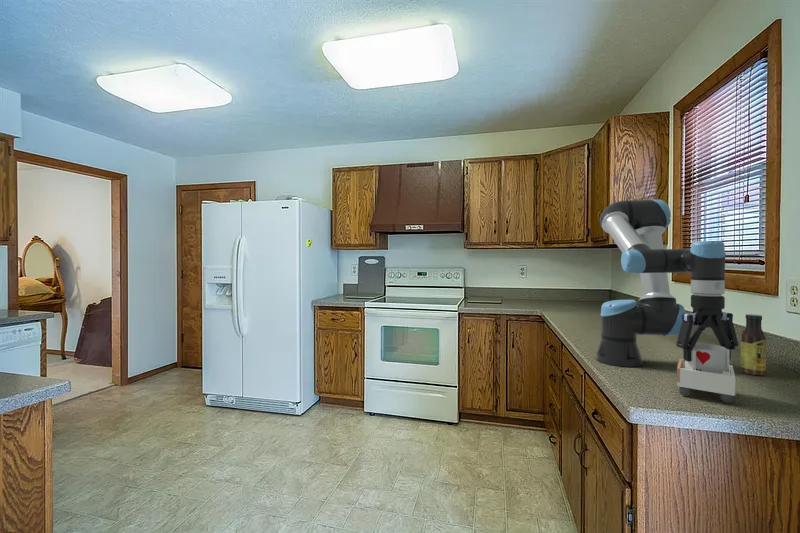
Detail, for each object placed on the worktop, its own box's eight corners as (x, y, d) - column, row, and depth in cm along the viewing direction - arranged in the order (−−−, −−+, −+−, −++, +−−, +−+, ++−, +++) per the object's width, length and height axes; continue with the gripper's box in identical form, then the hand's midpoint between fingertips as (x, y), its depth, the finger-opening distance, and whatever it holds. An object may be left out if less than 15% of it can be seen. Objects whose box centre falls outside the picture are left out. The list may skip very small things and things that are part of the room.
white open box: (676, 394, 106) (676, 368, 106) (679, 382, 115) (679, 358, 115) (735, 404, 98) (735, 376, 98) (732, 391, 108) (732, 365, 107)
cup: (682, 376, 110) (682, 343, 110) (707, 375, 111) (707, 342, 110) (706, 386, 102) (707, 351, 102) (734, 384, 103) (734, 349, 102)
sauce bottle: (761, 377, 120) (761, 317, 119) (736, 372, 125) (737, 314, 125) (769, 374, 123) (770, 315, 122) (745, 369, 128) (745, 312, 128)
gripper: (682, 297, 101) (682, 377, 102) (756, 295, 103) (755, 373, 104) (660, 294, 108) (660, 369, 109) (730, 292, 111) (729, 366, 111)
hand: (707, 371), depth 106 cm, fingers open, 10 cm apart
